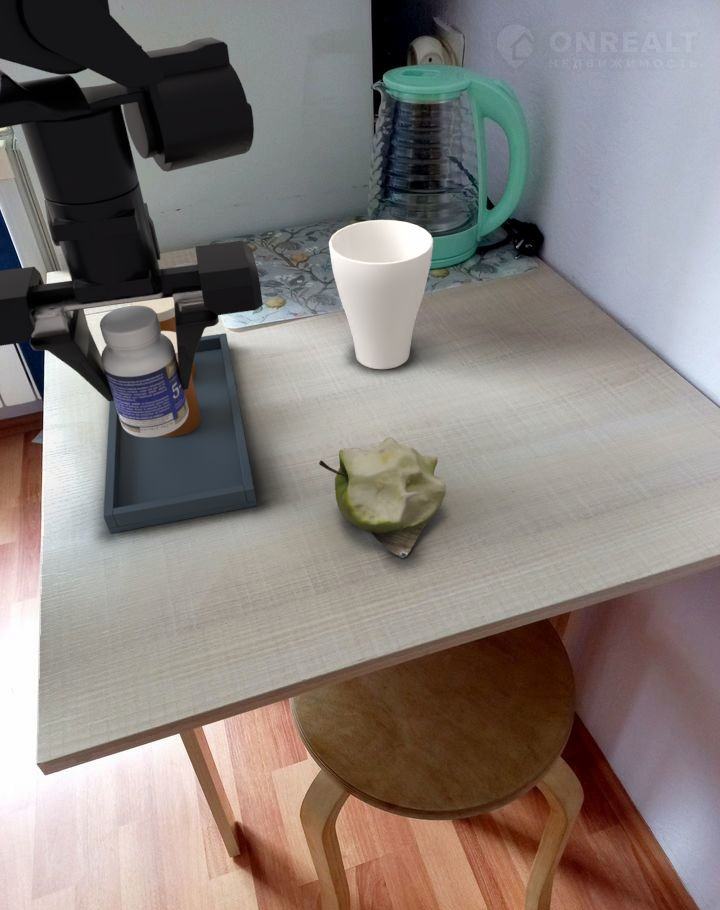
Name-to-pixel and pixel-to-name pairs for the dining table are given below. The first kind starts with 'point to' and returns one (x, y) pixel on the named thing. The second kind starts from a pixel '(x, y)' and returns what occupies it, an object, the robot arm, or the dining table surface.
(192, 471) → the tray
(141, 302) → the amber bottle far
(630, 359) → the dining table surface
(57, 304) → the robot arm
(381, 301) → the cup
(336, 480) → the fruit
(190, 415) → the amber bottle middle
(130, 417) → the pill bottle
